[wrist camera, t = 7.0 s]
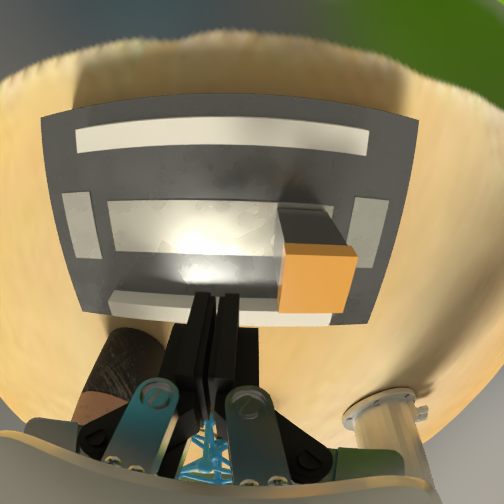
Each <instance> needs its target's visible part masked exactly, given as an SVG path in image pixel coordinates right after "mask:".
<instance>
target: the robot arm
mask: <svg viewBox="0 0 504 504" xmlns="http://www.w3.org/2000/svg"><path fill="white" fill-rule="evenodd" d="M239 303H240V293H225V297H224V296H220V298H219V304H218V310H217V313H216V296H211V293H210V292H200V291H196V293H195V296H194V299H193V303H192V307H191V310H190V314H189V318H188V321H187V324H180V323H175V324H174V326H173V328H172V331H171V335H170V338H169V341H168V344H167V348H166V351H165V354H164V358H163V361H162V364H161V368H160V371H159V375H158V378H151V379H148V380H145V381H144V382H142V383H141V384H140V385H139V386H138V388H137V389H136V391H135V393H134V395H133V397H132V399H131V401H130V402H129V403H127V404H125V405H123V406H121V407H119V408H117V409H115V410H113V411H111V412H109V413H107V414H105V415H103V416H101V417H99V418H97V419H95V420H93V421H90V422H88V423H87V424H85V425H80V424H79V422H70V421H61V420H53V419H46V418H40V417H38V418H33V419H30V420H29V421H28V422H27V423H26V426H25V429H24V433H21V432H17V431H9V430H8V431H7V430H3V431H0V504H442V502H441V499H440V497H439V494H438V493H437V491H436V489H435V486H434V482H433V478H432V475H431V472H430V468H429V464H428V461H427V458H426V455H425V451H424V448H423V445H422V442H421V439H420V436H419V433H418V430H417V427H416V424H415V422H420V421H423V420H426V419H427V415H428V414H427V412H428V406H426V405H425V406H422V407H419V408H416V407H415V405H414V403H415V400H416V396H415V393H414V391H413V390H412V389H409V388H394V389H389V390H385V391H382V392H379V393H376V394H374V395H372V396H369V397H367V398H365V399H363V400H361V401H360V402H358V403H356V404H355V405H353V406H352V407H351V408H350V409H348V410H347V411H346V413H345V414H344V415H343V418H342V423H343V426H344V427H345V428H346V429H348V430H352V431H354V432H355V436H356V441H357V445H358V449H357V448H342V447H339V448H338V449H331V448H327V447H325V446H324V445H323V444H321V443H320V442H318V441H317V440H315V439H314V438H313V437H311V436H310V435H308V434H307V433H305V432H304V431H303V430H301V429H300V428H298V427H297V426H296V425H294V424H293V423H292V422H290V421H289V420H288V419H286V418H285V417H284V416H282V415H281V414H280V413H278V412H277V411H276V410H274V406H273V402H272V399H271V397H270V395H269V394H268V393H267V392H266V391H265V390H263V389H262V388H260V387H259V341H258V328H243V327H239ZM211 408H212V415H213V421H216V428H217V434H218V435H219V436H220V437H221V438H223V439H224V440H225V441H226V442H227V445H228V453H229V461H230V469H231V477H232V484H233V485H219V484H207V483H198V482H190V481H183V480H178V479H179V476H180V473H181V470H182V467H183V464H184V461H185V458H186V455H187V452H188V449H189V446H190V443H191V438H192V436H193V435H195V434H196V433H198V432H199V429H200V427H201V428H203V426H204V421H209V419H210V411H211Z"/></svg>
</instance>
